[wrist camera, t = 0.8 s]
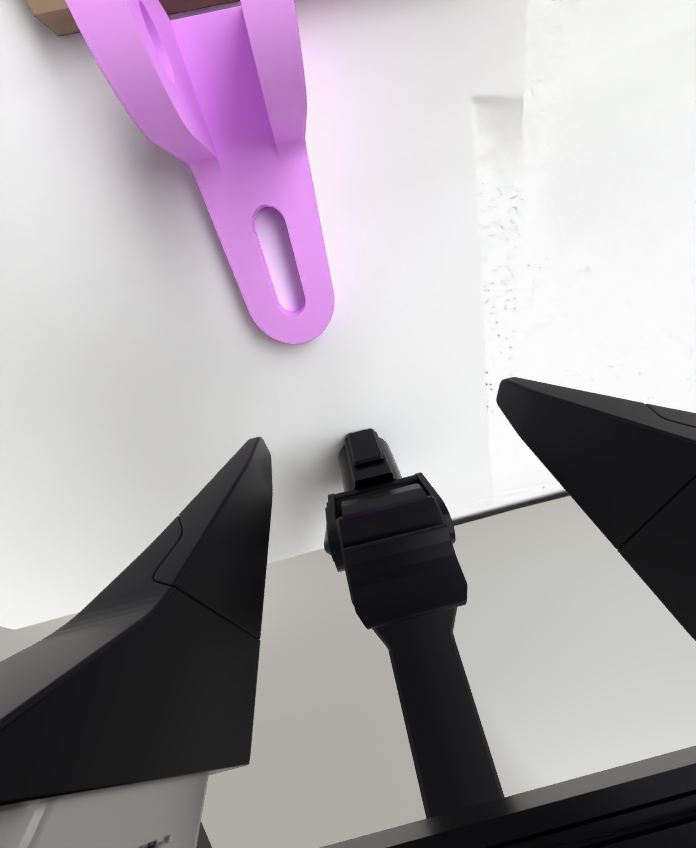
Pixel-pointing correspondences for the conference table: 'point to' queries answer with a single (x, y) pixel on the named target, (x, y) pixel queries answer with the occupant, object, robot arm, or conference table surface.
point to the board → (56, 15)
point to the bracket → (226, 130)
